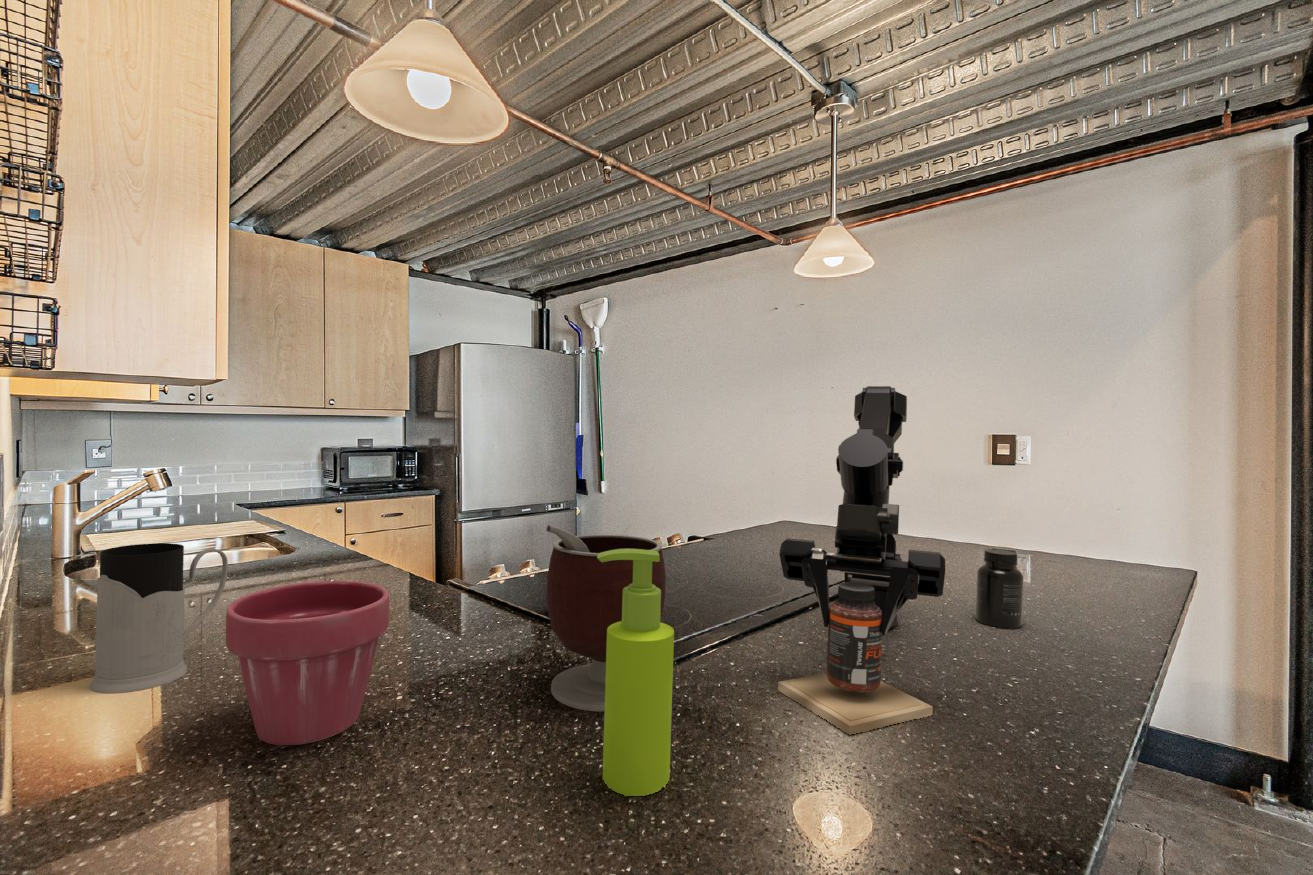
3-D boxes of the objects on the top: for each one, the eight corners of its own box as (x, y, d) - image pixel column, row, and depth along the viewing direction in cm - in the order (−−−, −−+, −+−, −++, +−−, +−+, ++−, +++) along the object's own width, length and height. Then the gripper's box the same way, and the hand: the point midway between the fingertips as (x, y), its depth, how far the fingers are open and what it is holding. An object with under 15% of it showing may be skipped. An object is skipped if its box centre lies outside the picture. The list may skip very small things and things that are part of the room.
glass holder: (71, 685, 70) (74, 551, 70) (201, 645, 83) (204, 533, 83) (121, 698, 67) (124, 559, 67) (248, 655, 80) (251, 539, 80)
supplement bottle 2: (1022, 621, 106) (1025, 551, 106) (1020, 632, 100) (1023, 557, 100) (977, 614, 110) (979, 546, 110) (973, 623, 104) (976, 552, 104)
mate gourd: (610, 657, 83) (615, 508, 83) (686, 690, 73) (692, 521, 73) (508, 688, 72) (513, 517, 72) (582, 732, 62) (587, 534, 62)
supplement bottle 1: (874, 699, 68) (877, 595, 67) (819, 686, 71) (822, 587, 70) (885, 680, 73) (888, 584, 72) (834, 669, 76) (837, 577, 76)
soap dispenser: (591, 760, 57) (597, 543, 57) (665, 759, 58) (672, 545, 58) (589, 798, 51) (597, 556, 51) (673, 796, 52) (680, 558, 52)
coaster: (777, 690, 74) (778, 681, 74) (854, 675, 80) (854, 667, 79) (849, 735, 63) (850, 725, 63) (932, 715, 69) (932, 705, 69)
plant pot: (270, 778, 53) (274, 628, 53) (195, 731, 60) (198, 600, 60) (415, 716, 65) (418, 593, 65) (337, 683, 72) (340, 574, 72)
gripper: (784, 474, 78) (762, 580, 68) (947, 483, 71) (949, 603, 61) (793, 527, 86) (774, 630, 76) (941, 540, 79) (942, 655, 69)
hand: (853, 629), depth 70 cm, fingers closed on supplement bottle 1, 6 cm apart
